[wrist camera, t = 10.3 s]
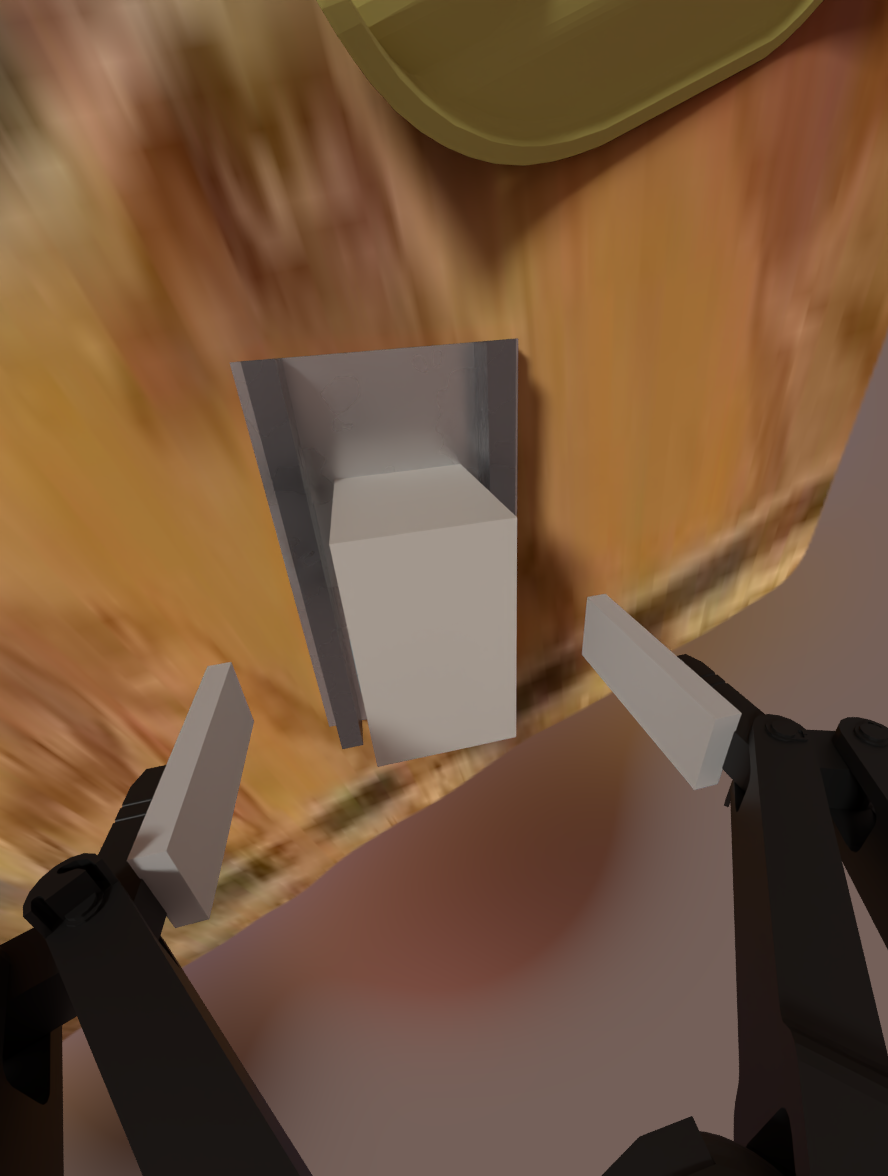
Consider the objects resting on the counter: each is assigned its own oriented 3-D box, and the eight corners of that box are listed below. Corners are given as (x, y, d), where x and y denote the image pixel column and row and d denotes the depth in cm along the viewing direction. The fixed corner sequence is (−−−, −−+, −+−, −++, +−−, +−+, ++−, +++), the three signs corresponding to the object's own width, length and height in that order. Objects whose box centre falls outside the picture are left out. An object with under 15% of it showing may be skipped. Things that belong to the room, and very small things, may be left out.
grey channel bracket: (330, 712, 28) (328, 752, 25) (236, 362, 19) (217, 363, 16) (509, 678, 30) (526, 711, 27) (509, 339, 20) (535, 337, 17)
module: (367, 653, 25) (376, 767, 18) (333, 479, 20) (327, 544, 13) (471, 634, 26) (517, 736, 19) (461, 463, 21) (518, 517, 14)
